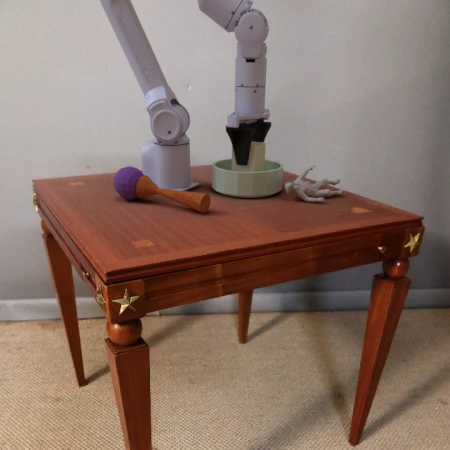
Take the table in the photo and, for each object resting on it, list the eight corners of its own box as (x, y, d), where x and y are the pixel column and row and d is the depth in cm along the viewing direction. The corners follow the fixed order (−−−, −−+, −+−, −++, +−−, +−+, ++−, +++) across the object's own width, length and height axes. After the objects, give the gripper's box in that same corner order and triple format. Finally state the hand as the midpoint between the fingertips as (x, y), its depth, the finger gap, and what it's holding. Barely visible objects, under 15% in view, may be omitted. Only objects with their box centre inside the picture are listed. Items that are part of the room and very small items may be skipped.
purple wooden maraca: (194, 194, 82) (104, 170, 90) (196, 226, 86) (110, 200, 94) (214, 180, 86) (125, 159, 94) (215, 212, 90) (130, 188, 98)
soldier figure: (348, 205, 96) (305, 192, 89) (329, 217, 100) (287, 206, 93) (338, 170, 98) (296, 156, 91) (320, 184, 102) (278, 171, 95)
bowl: (199, 193, 99) (199, 167, 97) (232, 179, 110) (232, 155, 107) (264, 202, 93) (265, 175, 91) (291, 187, 104) (293, 162, 102)
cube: (231, 170, 99) (231, 144, 96) (242, 166, 103) (243, 140, 100) (254, 173, 97) (255, 146, 94) (264, 168, 101) (265, 142, 98)
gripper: (253, 89, 85) (250, 171, 92) (285, 85, 96) (280, 158, 103) (217, 87, 88) (217, 167, 95) (252, 83, 99) (249, 155, 106)
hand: (247, 162), depth 99 cm, fingers closed on cube, 5 cm apart
